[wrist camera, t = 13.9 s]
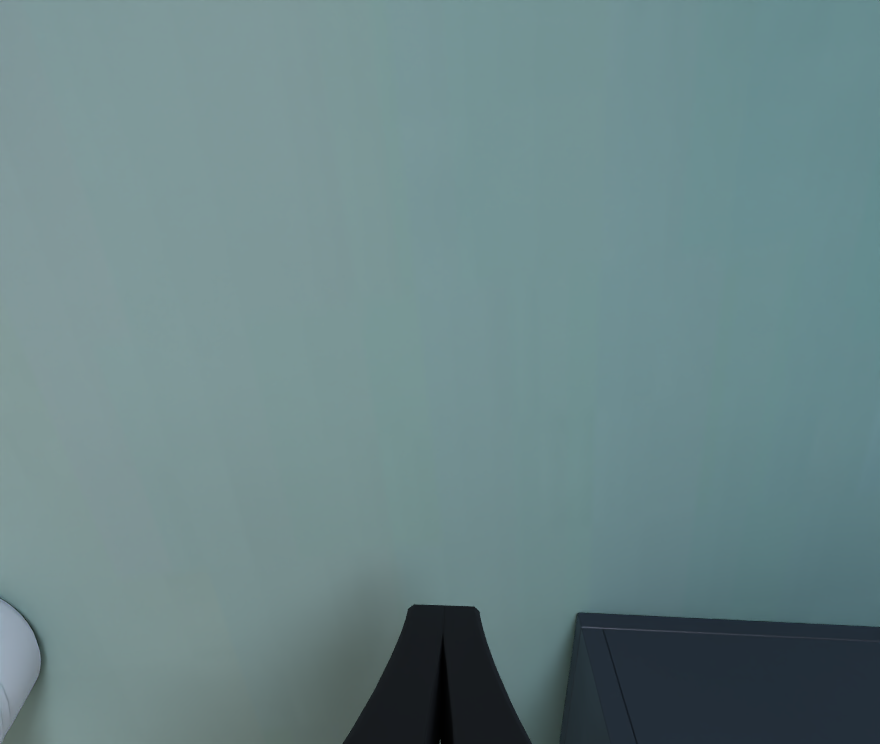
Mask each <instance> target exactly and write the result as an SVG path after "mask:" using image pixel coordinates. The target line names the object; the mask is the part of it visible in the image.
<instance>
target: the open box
mask: <svg viewBox="0 0 880 744" xmlns="http://www.w3.org/2000/svg"><path fill="white" fill-rule="evenodd" d="M559 744H880V627H866V626H845V625H824V624H803V623H782V622H761V621H741V620H720V619H699V618H678V617H657V616H636V615H616V614H595V613H578V615H577V622H576V629H575V636H574V643H573V650H572V657H571V664H570V672H569V679H568V686H567V693H566V700H565V707H564V714H563V721H562V729H561V736H560V743H559Z"/></svg>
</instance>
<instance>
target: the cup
mask: <svg viewBox="0 0 880 744" xmlns="http://www.w3.org/2000/svg"><path fill="white" fill-rule="evenodd" d="M40 666H41V656H40V650H39V647H38V644H37V641H36V638H35V635H34V632H33V631H32V629H31V627H30V626H29V624H28V622H27V621H26V620H25V619H24V618H23V617H22V615H21V614H20V613H19V612H18V611H17V610H15V609H14V608H13V607H12V606H11V605H9V604H8V603H7V602H5V601H3V600H2V599H0V744H1V743H2V741H3V739H4V737H5V735H6V733H7V731H8V730H9V729H10V727H11V725H12V724H13V722H14V720H15V718H16V716H17V715H18V713H19V711H20V709H21V707H22V706H23V704H24V702H25V700H26V698H27V697H28V695H29V693H30V691H31V689H32V687H33V686H34V684H35V682H36V680H37V678H38V675H39V672H40Z"/></svg>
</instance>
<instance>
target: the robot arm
mask: <svg viewBox="0 0 880 744" xmlns="http://www.w3.org/2000/svg"><path fill="white" fill-rule="evenodd" d="M440 741H441V744H532V743H531V741H530V739H529V737H528V735H527V733H526V731H525V729H524V727H523V726H522V724H521V722H520V720H519V718H518V716H517V714H516V712H515V709H514V707H513V705H512V703H511V701H510V699H509V697H508V694H507V692H506V690H505V687H504V685H503V683H502V680H501V678H500V676H499V673H498V671H497V668H496V666H495V663H494V661H493V658H492V655H491V652H490V650H489V647H488V644H487V641H486V637H485V634H484V631H483V627H482V623H481V618H480V612H479V611H478V610H477V609H476V608H475V607H471V606H443V605H415V604H414V605H413V606H411V607H410V608H409V609H408V612H407V616H406V620H405V623H404V626H403V629H402V631H401V634H400V637H399V639H398V642H397V644H396V646H395V648H394V651H393V653H392V655H391V658H390V660H389V662H388V664H387V666H386V668H385V670H384V672H383V674H382V676H381V678H380V680H379V682H378V684H377V686H376V688H375V690H374V692H373V693H372V695H371V697H370V699H369V700H368V702H367V704H366V706H365V707H364V709H363V711H362V713H361V714H360V716H359V718H358V719H357V721H356V723H355V725H354V726H353V728H352V730H351V731H350V733H349V734H348V736H347V737H346V739H345V741H344V742H343V744H439V743H440Z"/></svg>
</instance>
